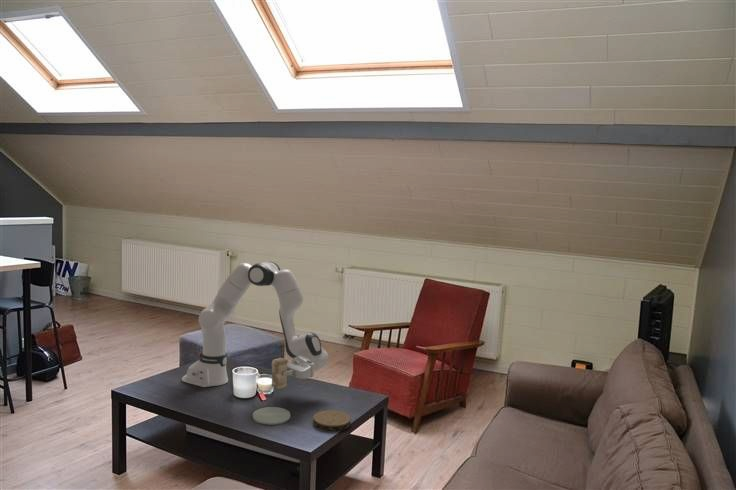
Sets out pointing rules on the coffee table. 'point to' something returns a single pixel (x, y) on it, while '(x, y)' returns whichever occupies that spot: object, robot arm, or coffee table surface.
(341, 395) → the coffee table surface
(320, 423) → the brown round disc
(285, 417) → the dish
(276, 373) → the birch block
